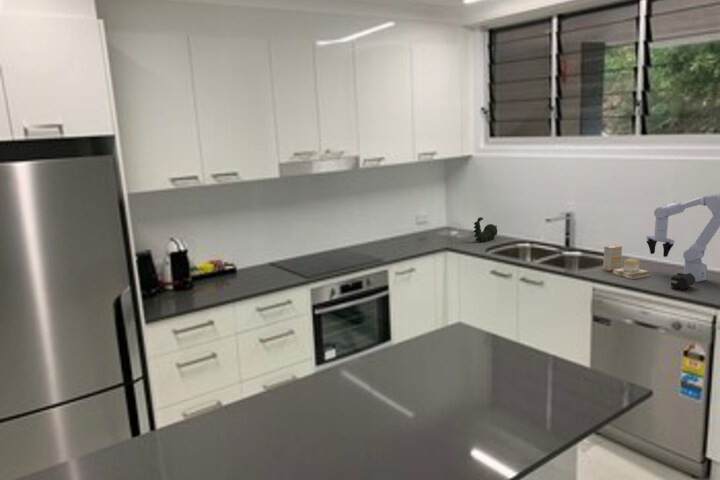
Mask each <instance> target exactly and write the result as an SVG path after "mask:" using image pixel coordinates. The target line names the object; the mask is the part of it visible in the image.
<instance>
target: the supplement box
mask: <svg viewBox="0 0 720 480" xmlns="http://www.w3.org/2000/svg"><path fill="white" fill-rule="evenodd" d="M622 253H623V246H622V245H619V244H612V245H604V247H603V265H602V267H603V268H602V270H604V271H608V272H611V271H612V272H613V269H618V268H622V256H623V255H622Z"/></svg>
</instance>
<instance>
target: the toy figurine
mask: <svg viewBox="0 0 720 480" xmlns="http://www.w3.org/2000/svg"><path fill="white" fill-rule="evenodd" d="M481 221H484V218H483V217H478V218H477V220H476V221H475V222H473V225H474V226H473V229H475V230H473V232H474V233H475V234H474V235H473V236H474V238H475V241H477V242H485V243H488V242H489V241H491V240H494V239H495V236H497V235H498V228H497V227H498V225H495V224H492V223H490V224H486V225H485V226H484V227H483V231H482V228H481V227H482V226H481V223H480V222H481Z"/></svg>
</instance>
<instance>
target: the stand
mask: <svg viewBox="0 0 720 480" xmlns="http://www.w3.org/2000/svg"><path fill="white" fill-rule="evenodd" d="M623 268H624V267H621V268H618V269H613V271H612V274H613V275H616V276H619V277H623V278H626V279H631V280H636V279H641V278H647V277H649V276H650V271H649V270H646V269H641V268H639V270H637V271H635V272H626V271H623Z"/></svg>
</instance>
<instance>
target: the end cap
mask: <svg viewBox="0 0 720 480" xmlns="http://www.w3.org/2000/svg"><path fill="white" fill-rule="evenodd" d="M670 280H671V281H674V282H671V283H670V289H671V290H677V291H682V290H686V289H687V288H689V287H691V286H692V285H694V284H695V282H696V281H695V277H694V276H693V275H692V274H691V273H688V274H684V273H680V272H678V273H676V274H674V275H672V276H671V278H670Z"/></svg>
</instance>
